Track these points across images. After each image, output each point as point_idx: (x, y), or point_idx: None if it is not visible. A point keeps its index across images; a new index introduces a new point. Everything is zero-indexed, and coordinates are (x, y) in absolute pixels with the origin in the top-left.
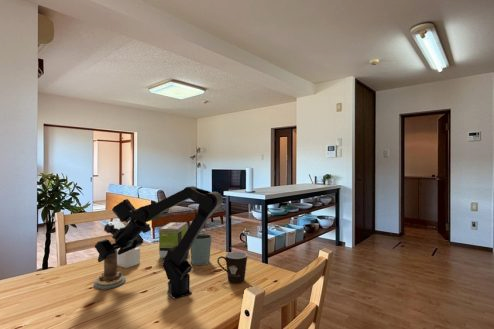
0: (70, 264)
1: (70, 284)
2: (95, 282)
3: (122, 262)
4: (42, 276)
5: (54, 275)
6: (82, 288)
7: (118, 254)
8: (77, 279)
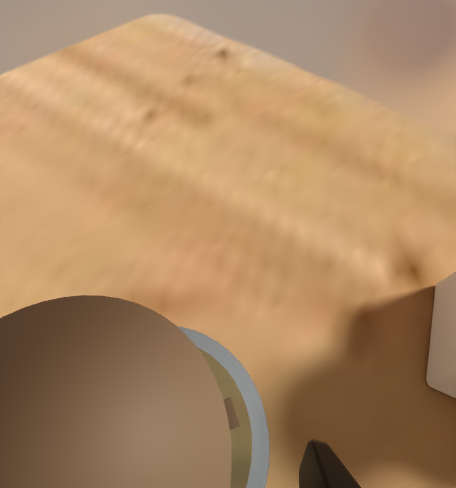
0: (343, 89)
1: (125, 210)
2: None
3: (451, 335)
4: (204, 73)
5: (221, 100)
6: None
7: (302, 465)
8: (191, 204)
